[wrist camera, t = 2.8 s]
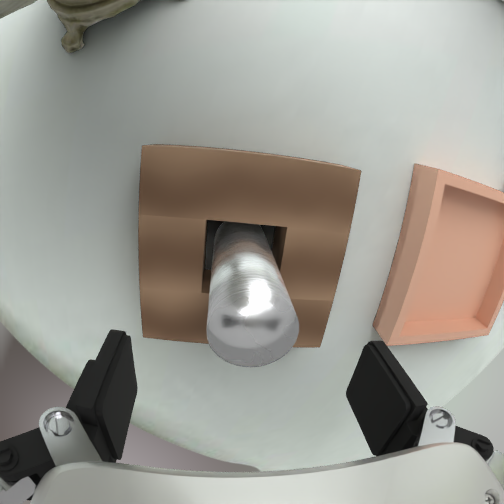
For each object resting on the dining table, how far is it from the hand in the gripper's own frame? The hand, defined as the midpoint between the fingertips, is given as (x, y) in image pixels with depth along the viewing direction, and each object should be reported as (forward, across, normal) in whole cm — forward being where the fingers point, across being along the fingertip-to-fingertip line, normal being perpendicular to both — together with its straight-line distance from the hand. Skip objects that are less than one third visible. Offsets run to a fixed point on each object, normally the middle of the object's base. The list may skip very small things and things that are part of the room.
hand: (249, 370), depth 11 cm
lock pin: (+14, 0, -1) cm, 14 cm away
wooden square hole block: (+14, 0, -1) cm, 14 cm away
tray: (+14, -22, -1) cm, 26 cm away
